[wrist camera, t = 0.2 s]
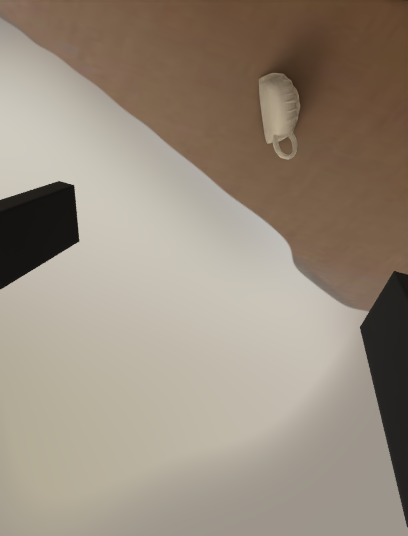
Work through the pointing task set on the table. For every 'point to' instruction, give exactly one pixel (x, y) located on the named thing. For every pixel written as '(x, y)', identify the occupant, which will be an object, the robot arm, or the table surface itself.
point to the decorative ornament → (279, 110)
